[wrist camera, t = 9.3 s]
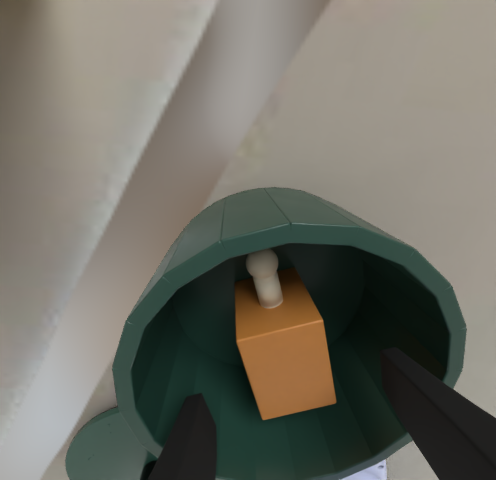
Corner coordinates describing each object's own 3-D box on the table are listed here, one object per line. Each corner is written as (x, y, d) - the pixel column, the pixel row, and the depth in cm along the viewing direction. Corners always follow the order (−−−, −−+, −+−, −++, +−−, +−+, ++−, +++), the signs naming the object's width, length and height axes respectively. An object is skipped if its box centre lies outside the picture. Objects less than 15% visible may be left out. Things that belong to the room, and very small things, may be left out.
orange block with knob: (307, 332, 16) (337, 404, 11) (253, 346, 16) (262, 421, 11) (286, 220, 13) (313, 258, 9) (220, 237, 13) (215, 282, 9)
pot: (374, 343, 17) (455, 454, 11) (201, 385, 17) (184, 516, 11) (361, 160, 13) (483, 173, 6) (129, 220, 13) (37, 286, 7)
